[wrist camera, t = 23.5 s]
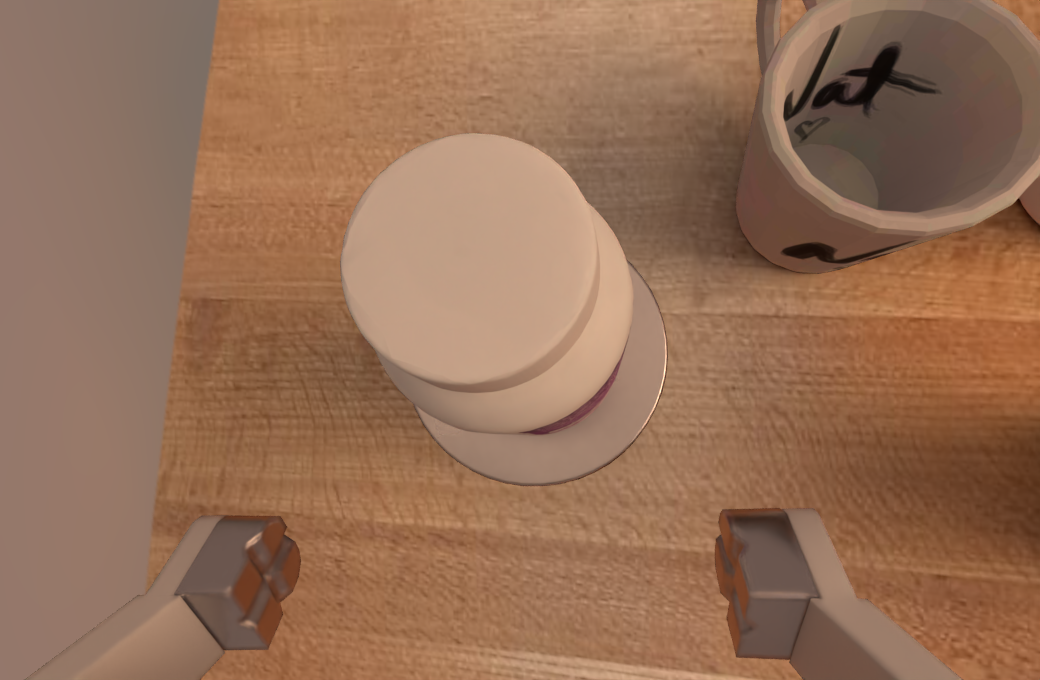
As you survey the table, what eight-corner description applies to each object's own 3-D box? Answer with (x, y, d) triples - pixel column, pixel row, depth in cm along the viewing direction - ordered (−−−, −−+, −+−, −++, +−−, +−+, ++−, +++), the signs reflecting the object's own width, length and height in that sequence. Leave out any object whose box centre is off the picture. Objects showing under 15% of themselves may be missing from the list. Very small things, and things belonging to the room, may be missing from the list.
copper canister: (506, 490, 30) (443, 527, 17) (459, 340, 32) (370, 273, 19) (661, 438, 29) (715, 437, 17) (604, 288, 31) (614, 184, 18)
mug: (754, 329, 30) (833, 274, 20) (649, 94, 33) (673, -53, 23) (948, 259, 29) (1128, 168, 19) (822, 26, 32) (924, -154, 22)
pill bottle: (608, 260, 18) (628, 62, 9) (629, 428, 17) (676, 413, 8) (444, 279, 19) (293, 114, 9) (454, 443, 18) (296, 447, 8)
